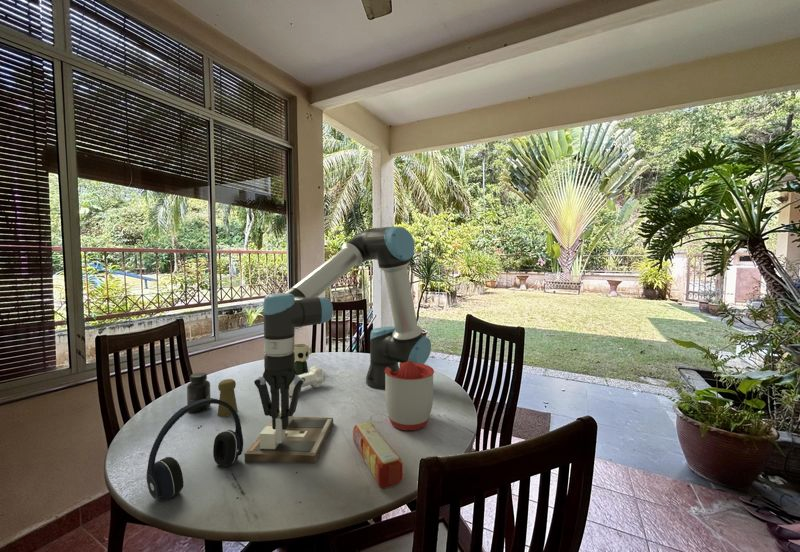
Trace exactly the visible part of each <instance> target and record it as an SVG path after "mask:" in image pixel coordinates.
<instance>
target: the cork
mask: <svg viewBox="0 0 800 552" xmlns="http://www.w3.org/2000/svg"><path fill="white" fill-rule="evenodd" d="M236 385H237V383H236V380H234V379H233V378H227V379H222V380H220V381H219V383H218V386H217V387H218V391H219V399H218V400H221V401H223V402H226V403H228V404H229V405H230V406H232V407H233V409H234V410H235V411H236V412H237V413H238V404H237V399H236V392H235V388H236V387H237V386H236ZM217 407H218V408H217V417H221V418H224V417H225V418H226V417H230V416H233V415H232V413H231V412H230V411H229V409H227V408H226V407H224V406H222V405H220V404H218V406H217Z"/></svg>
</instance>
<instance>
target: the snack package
mask: <svg viewBox="0 0 800 552" xmlns="http://www.w3.org/2000/svg"><path fill="white" fill-rule="evenodd" d="M352 440H353V444H354V445H355V446H356V447H357V448H358V450H359V452H360V454H361V456H362V457H363V460H364V461H365V463H366V465H367V466H368V468H369V470H370V472H371V474H372V475H373V477H374V479H375V481H376V483H377V484H376V485H378V487H379V488H381V489H387V488H391V487H394V486H397V485H398V484H399V483H401V482H402V481H403V477H404V462H403V460H402V458H401V457H400V456H399V455H398V454H397V452H396V451H395V450H394V449H393V448H392V447H391V445H390V444H389V443H388V442H387V440H386V439H385V438H384V436H383V435H382V434H381V433H380V431H378V430H377V428H376V427H375V425H374V424H373V422H371V421H364V422H359V423H357V424H355V425H354V426H353V429H352Z"/></svg>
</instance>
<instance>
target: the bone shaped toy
mask: <svg viewBox="0 0 800 552" xmlns="http://www.w3.org/2000/svg"><path fill="white" fill-rule="evenodd" d="M297 376H299V377H300V378H305V382H304V383H303V385H302V386H301V388H305V387H309V386H313V387H314V388H316V389H317V388H321V387H322V385H323V381H325V376H324V372H323V369H322V368H321V367H318V366H316V365H313V366H311V367H310V368H309V370H308V373H305V372H304V373H303V374H301V375H297ZM294 388H295V385H294V380H293V381H292V383H291V384H290V385H289V397H292V395H293V390H294Z"/></svg>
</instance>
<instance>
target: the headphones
mask: <svg viewBox="0 0 800 552" xmlns="http://www.w3.org/2000/svg"><path fill="white" fill-rule="evenodd" d="M207 404H211V405H213V404H214V405H215V404H216V405H219V404H220V405H222V406H224V407H226V408H227V409H229V411H230V412H231V413H232V415H231V416H232V417H233V420H234V425H235V427H234V429H235V430H232V429H228V430H225V431H221V432H219V433H218V434H217V435H216V436H215V438H214V442H213V449H212V453H213V454H212V455H213V459H214V462H215V463H216V465H218V466H220V467H228V466H231V465H234V464H235V463H237V461H238V458H239V456H241V455H242V454H243V451H244V437H243V431H242V423H241V420H240V417H239V414H238V412H236V411H235V410H234V409H233V407H232V406H230V405H229V404H228V403H226V402H223V401H221V400H219V399H218V398H213V397H210V398H208V399H202V400H199V401H196V402H193V403H191V404H188V405H184V406H183V407H181V408H180V409H178V410H177V411H176V412H175V413H174V414H173V415H172V416H171V417H170V418H169V419H168V420H167V421H166V422H165V424H163V427H161V429H160V431H159V433H158V435H157V437H156V438H155V440H154V442H153V445H152V447H151V450H150V453H149V456H148V460H147V461H148V462H147V469H146V476H145V477H146V484H147V488H148V492H149V494H150V495H151V496H152V498H153V499H154V500H158V499H159V498H162V499H166V500H170V499H171V498H173V497H174V496H176V495H178V494H179V493H181V491H182V490H183V488H184V476H183V472H182V468H181V466H180V463H179V462H178V461H177V459H175V457H172V456H166V457H164V458H161V459H160V460H157V461H156V459H157V454H158V452H159V448H160V446H161V444H162V442H163V440H164V438H165V436H166V435H167V434H168V433H169V431H170V430H171V428H172V427H173V426H174V425H175V424H176V423H177V422H178V420H180V418H182V417H183V416H185V415H186V414H187V413H190V412H189V411H191V410H193V409H195V408H198V407H200V406H203V405H207Z"/></svg>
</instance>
